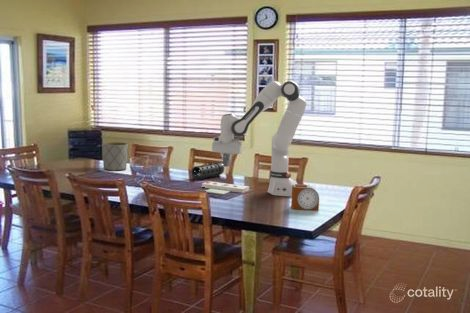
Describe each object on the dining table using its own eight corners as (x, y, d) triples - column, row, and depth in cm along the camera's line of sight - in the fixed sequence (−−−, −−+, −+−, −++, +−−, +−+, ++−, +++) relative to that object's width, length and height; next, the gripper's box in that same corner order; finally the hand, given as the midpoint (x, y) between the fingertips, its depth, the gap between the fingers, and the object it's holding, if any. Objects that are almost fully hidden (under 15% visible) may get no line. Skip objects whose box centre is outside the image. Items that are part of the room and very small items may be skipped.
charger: (229, 165, 350) (229, 153, 349) (226, 166, 346) (227, 154, 345) (225, 165, 351) (225, 153, 350) (222, 166, 347) (223, 154, 346)
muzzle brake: (190, 179, 380) (191, 165, 379) (215, 174, 403) (215, 161, 401) (201, 181, 375) (201, 166, 373) (225, 176, 397) (225, 162, 396)
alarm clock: (292, 209, 300) (293, 186, 298) (290, 206, 308) (292, 183, 306) (318, 210, 300) (320, 187, 298) (316, 207, 308) (317, 184, 307)
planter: (132, 169, 410) (132, 144, 407) (112, 172, 396) (112, 145, 393) (117, 166, 423) (117, 141, 420) (97, 168, 408) (97, 143, 406)
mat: (229, 192, 341) (229, 191, 341) (223, 194, 333) (223, 193, 333) (210, 189, 347) (210, 188, 347) (203, 191, 339) (203, 191, 339)
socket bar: (249, 190, 349) (249, 185, 349) (242, 192, 340) (242, 188, 340) (208, 185, 362) (208, 180, 361) (201, 187, 353) (201, 182, 352)
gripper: (243, 139, 345) (242, 160, 346) (215, 137, 353) (214, 157, 355) (239, 140, 339) (238, 161, 341) (211, 138, 347) (210, 158, 349)
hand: (226, 159), depth 348 cm, fingers closed on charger, 3 cm apart
